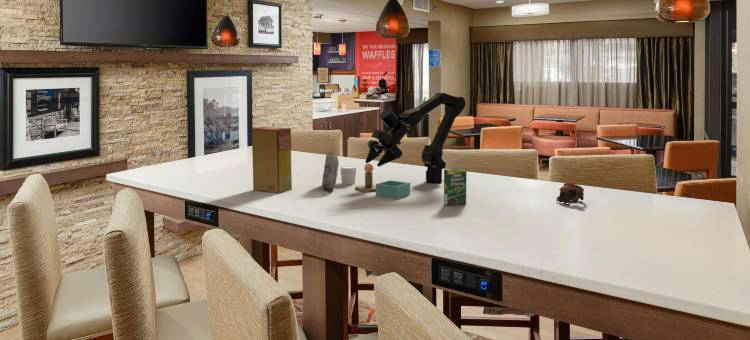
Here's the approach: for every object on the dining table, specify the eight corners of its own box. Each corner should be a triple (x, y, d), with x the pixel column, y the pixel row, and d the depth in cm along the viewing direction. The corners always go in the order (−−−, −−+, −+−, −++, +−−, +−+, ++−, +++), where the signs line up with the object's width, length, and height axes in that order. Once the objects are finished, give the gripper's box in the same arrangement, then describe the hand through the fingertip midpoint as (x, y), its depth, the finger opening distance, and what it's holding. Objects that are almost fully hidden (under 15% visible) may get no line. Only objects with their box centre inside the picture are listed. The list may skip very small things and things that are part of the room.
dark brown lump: (549, 202, 214) (557, 181, 215) (570, 212, 215) (578, 192, 217) (567, 200, 202) (575, 179, 204) (589, 211, 204) (597, 190, 205)
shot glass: (354, 185, 242) (354, 168, 241) (338, 184, 243) (338, 168, 242) (358, 182, 248) (358, 166, 247) (342, 181, 250) (342, 165, 249)
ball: (373, 172, 233) (373, 163, 232) (372, 173, 229) (372, 164, 228) (365, 171, 233) (365, 162, 233) (363, 173, 230) (363, 164, 229)
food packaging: (293, 189, 233) (291, 127, 228) (278, 193, 225) (277, 129, 220) (267, 186, 239) (265, 126, 235) (252, 190, 231) (249, 128, 227)
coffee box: (446, 206, 204) (447, 169, 202) (442, 204, 207) (443, 168, 205) (466, 204, 207) (467, 168, 205) (462, 202, 210) (463, 167, 208)
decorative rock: (323, 184, 243) (323, 149, 240) (339, 184, 243) (339, 149, 240) (320, 192, 227) (319, 154, 224) (336, 192, 227) (336, 154, 224)
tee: (372, 187, 238) (372, 170, 237) (382, 190, 231) (382, 173, 230) (355, 189, 234) (355, 172, 232) (365, 192, 227) (365, 175, 226)
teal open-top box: (389, 191, 229) (389, 180, 229) (410, 194, 224) (410, 182, 223) (375, 195, 222) (375, 184, 221) (396, 198, 216) (397, 186, 215)
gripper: (371, 120, 239) (348, 148, 235) (396, 124, 224) (371, 153, 220) (387, 138, 245) (364, 166, 241) (412, 143, 229) (388, 172, 225)
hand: (371, 164), depth 231 cm, fingers open, 9 cm apart
